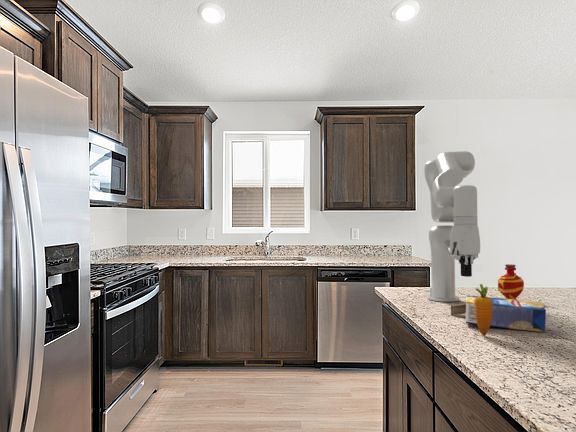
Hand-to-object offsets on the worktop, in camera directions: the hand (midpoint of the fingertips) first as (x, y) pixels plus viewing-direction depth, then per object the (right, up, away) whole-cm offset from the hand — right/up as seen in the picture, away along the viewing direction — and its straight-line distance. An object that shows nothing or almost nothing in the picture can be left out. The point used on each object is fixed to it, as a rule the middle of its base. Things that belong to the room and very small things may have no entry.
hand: (466, 276), depth 148 cm
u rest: (+9, -15, +4) cm, 18 cm away
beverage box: (-2, -10, -4) cm, 11 cm away
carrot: (-3, -15, -20) cm, 25 cm away
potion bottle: (+33, -15, +35) cm, 51 cm away
